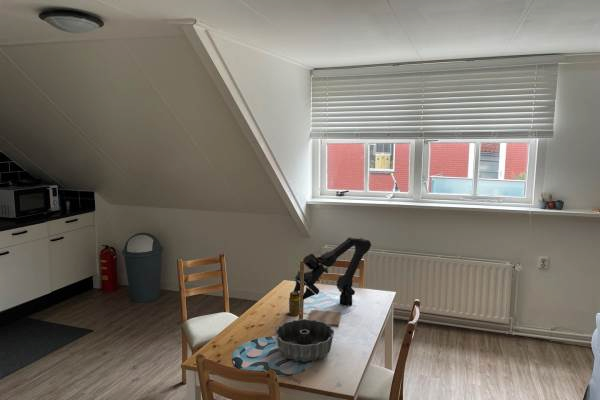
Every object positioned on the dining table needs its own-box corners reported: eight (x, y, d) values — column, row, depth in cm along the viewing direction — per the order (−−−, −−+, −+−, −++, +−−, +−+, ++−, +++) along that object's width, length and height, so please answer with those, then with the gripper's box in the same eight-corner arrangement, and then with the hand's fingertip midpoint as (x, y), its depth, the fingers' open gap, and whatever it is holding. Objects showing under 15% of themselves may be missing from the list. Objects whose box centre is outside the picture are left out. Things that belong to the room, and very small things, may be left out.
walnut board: (340, 314, 237) (341, 311, 237) (338, 326, 222) (338, 324, 222) (311, 311, 240) (311, 309, 240) (307, 324, 224) (307, 322, 224)
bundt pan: (262, 351, 197) (262, 330, 195) (304, 333, 215) (304, 313, 213) (304, 375, 178) (304, 352, 177) (346, 352, 196) (346, 331, 195)
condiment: (303, 314, 237) (303, 293, 235) (292, 319, 231) (292, 297, 229) (294, 310, 242) (294, 289, 240) (282, 314, 236) (282, 293, 234)
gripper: (298, 260, 244) (279, 283, 241) (314, 270, 228) (295, 294, 224) (310, 272, 249) (292, 294, 245) (327, 282, 232) (308, 306, 229)
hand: (296, 297), depth 236 cm, fingers open, 9 cm apart
